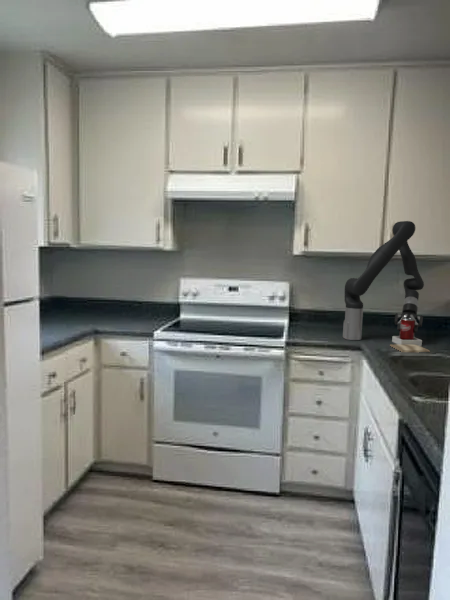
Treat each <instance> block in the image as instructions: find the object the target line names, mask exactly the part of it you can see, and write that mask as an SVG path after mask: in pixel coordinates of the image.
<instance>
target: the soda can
mask: <svg viewBox="0 0 450 600" xmlns="http://www.w3.org/2000/svg"><path fill="white" fill-rule="evenodd" d="M400 320H401V322H400V331H399V335H398V336H399V338H400V339H402V340H414V337H415V333H414V329H415V320H414V319H409V318H405V319H404V318H402V319H401V318H400Z"/></svg>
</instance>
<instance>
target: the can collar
mask: <svg viewBox="0 0 450 600" xmlns="http://www.w3.org/2000/svg"><path fill="white" fill-rule="evenodd" d="M391 337H392V340H391V342H392V343H393V344H412V345H418V346H421V347H423V346H422V345H423V344H422V343H423V340H422V339H420V338H417V337H415V336H414V340H402V339H400V338H399V335H393V336H391Z"/></svg>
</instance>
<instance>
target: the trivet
mask: <svg viewBox="0 0 450 600" xmlns="http://www.w3.org/2000/svg"><path fill="white" fill-rule="evenodd" d="M390 346H391V347H390ZM389 347H390V348H392V347H393V349H394V348H395V350H396V349H397V350H396V351H398V350H399V351H398V352H400V351H401V353H419V352H430V353H431V351H430V350H429V349H427V348H425V347H423V346H418V345H412V344H396V343H393V344H389Z"/></svg>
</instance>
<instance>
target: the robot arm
mask: <svg viewBox="0 0 450 600" xmlns="http://www.w3.org/2000/svg"><path fill="white" fill-rule="evenodd" d="M415 232H416V224H415V223H414V221H410V220H402V221H397V222H396V223H394V224H393V226H392V234H393V237H391V238H390V239H388V240H387V241H386V242H384V243H383V244H382V245H380V246H379V247H378V248H377V249H376V250H375V251H374V252H373V254H372V255H371V256H370V257H369V259H368V262H367V265H366V269H364V272H362V274H360V276H359V277H356V278H355V277H353V278H352V277H350V278H349V279H348V280H347V281H346V282H345V285H344V303H345V312H344V320H343V327H342V328H343V329H342V338H343V339H345V340H351V341H359V340H362V337H363V336H362V333H363V330H362V329H363V317H364V302H363V301H362V300H361V296H363V295H364V294H366V293H367V291H368V289H369V287H371V285H372V284H373V282H374V281H375V280H376V278H377V277H378V276H379V274H380V273H381V272H382V271H383V269H384V268H386V267H387V265H388V264H389V263H390V261H391V260H392V259H393V257H395V255H396V254H397V253H398V251H399V253H400V257H401V262H402V265H403V271H404V274H405V275H406V276H412V277H411V278H406V279H405V280H404V281H403V288H404V293H405V294H404V300H403V305H402V312H401V314H398V313H396V312H395V316H394V325H395V326H396V325H397V327H396V328H397V331H398V332H400V322H401V319H402V318H404V319H405V318H409V319H414V320H415V329H414V334H416V333H418V328H422V326H423V318H424V316H423V315H420V316H419V315H418V309H419V295H420V294H419V291H421V290H423V289H424V286H425V283H424V282H425V281H424V280H423V278H422V276H421V274H420V271H419V270H418V264H417V260H416V257H415V254H414V253H413V251H412V249H411V248H410V245H409V243H408V241H409V240H410V238H412V237H413V236H414V234H415ZM399 319H400V320H399ZM398 320H399V321H398ZM417 320H418V321H419V323H418V322H417Z"/></svg>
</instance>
